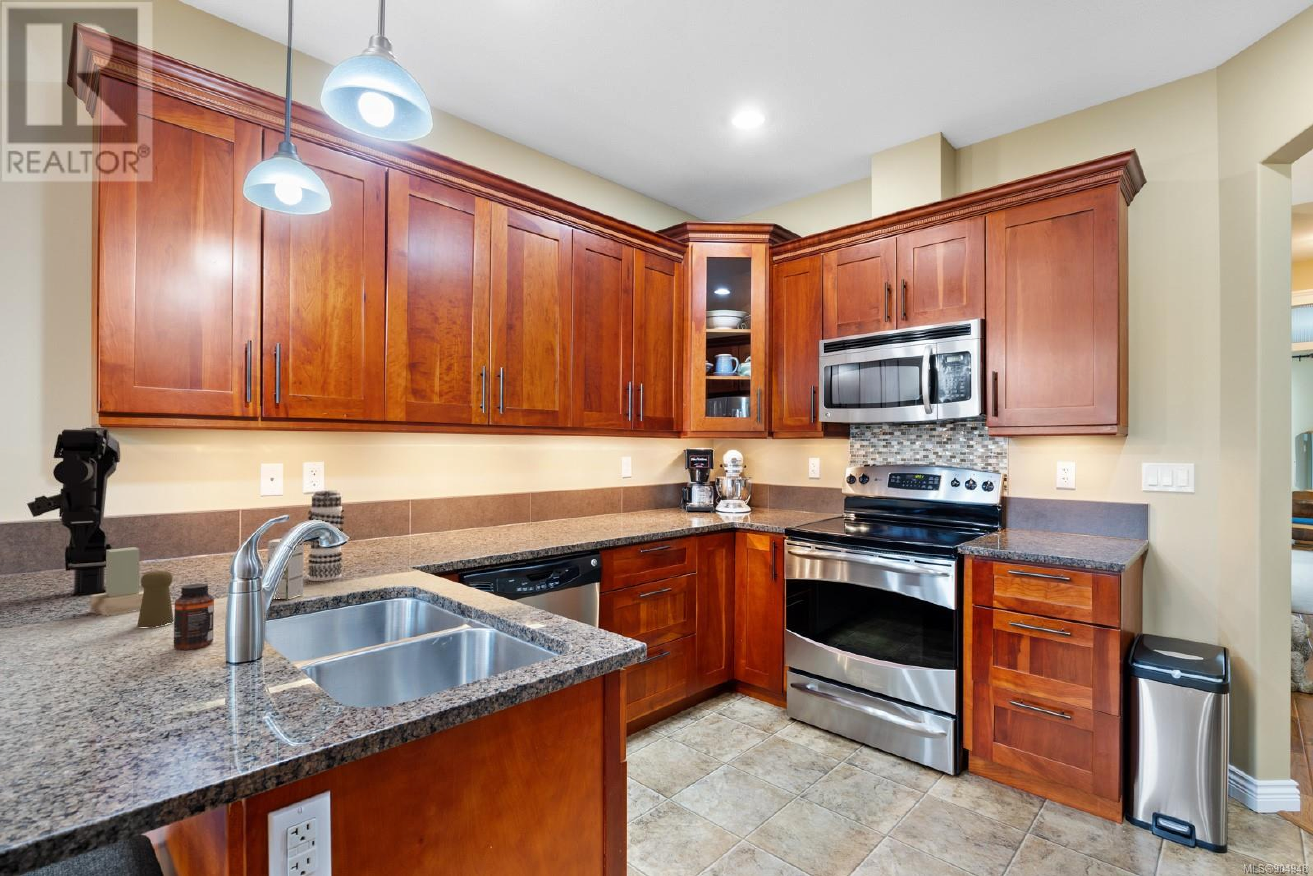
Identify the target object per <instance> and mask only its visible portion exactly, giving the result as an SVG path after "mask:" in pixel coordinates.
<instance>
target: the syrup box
mask: <svg viewBox="0 0 1313 876" xmlns="http://www.w3.org/2000/svg"><path fill="white" fill-rule="evenodd" d="M282 538H283V537H282ZM282 538H275V539H272V540H269V541H268V542H267V564H268V563H269V561H270V559H271V557H272V554H273V553H274V551H275V548H276V547H277V545H278V544H279V543H280V540H282ZM303 585H304V543H303V544H302V545H299V546H298V548H297V549H296V550H295V551H294V552H293V555H292V557H291V558H290V559H289V563H288V566H287V568H286V570H285V571H284V575H283V577H282V579H281V581H280V585H279V587H278V590H277V591H276V594H275V599H276V598H277V599H278V598H280V599H289V598H292V597H294V596H297V595H302V596H303V594H304V586H303ZM275 599H273V600H274V601H275Z"/></svg>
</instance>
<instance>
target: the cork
mask: <svg viewBox="0 0 1313 876" xmlns="http://www.w3.org/2000/svg"><path fill="white" fill-rule="evenodd" d="M173 579H174V578H173V574H172V573H171V572H170V571H167V570H156V571H151V572H147V573H144V574H143V575H142V577H141V579H140V585H141V588H143V589H144V590H143V591H144V593H143V598H142V603H141V609H140V610H139V614H138V620H137V626H136V627H156V626H161V625H165V624H167V623H172V622H173V621H174V612H173V606H172V598H171V591H170V586H171V584H172V583H173ZM172 624H173V623H172ZM156 628H157V627H156Z"/></svg>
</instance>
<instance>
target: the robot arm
mask: <svg viewBox="0 0 1313 876" xmlns="http://www.w3.org/2000/svg"><path fill="white" fill-rule="evenodd" d="M53 459H62V460H61V461H59V463H57V464H56V465H55V467H54V468H53V473H52V474H53V477H54V479H55V480H56V481H57V482H59V483H60V484H62V488H60V492H59V493H58V494H54V495H51V496H48V497H47V496H46V495H41V496H38V497H36V496H35V498H34V501H29V502H28V503H26V505H27V507H28V510H29V512H30V513H31V515H32V517H33V518H36V517H38V516H39V517H40V516H42V515H43V514H47V513H50V512H52V511H56V510H58V511H59V513H58V516H59V520H60V522H61V525H62V526H64V527H66V529H68V530H69V533H70V538H69V543H68V544H69V545H67V546H66V547H65V549H64V550H65V551H64V561H65V563H64V565H65V566H64V567H65V571H66V572H67V571H74V576H73V579H74V580H73V589H71V590H70V592H71V596H80V595H81V596H82V595H89V594H96V593H98V594H100V593H106V592H105V591H106V585H105V578H106V550H110V549H115V548H114V547H113V546H112V543H110V540H109V537H108V535H107V534H106V532H105V531H104V529H103V528H104V527H103V525H104V515H105V507H106V505H105V504H106V497H107V496H106V495H107V487H108V485H107V484H108V480H109V478H110V477H111V476H112V475H113V474H114V473H115V472H116V471H117V465H118V463H120V462H121V448H120V442H119V441H118V440H116V439H115V438H114V437H113V436H111V435H110V432H109V428H104V427H85V428H82V429H66V428H65V429H63V430H62V431H61V433H59V434H58V435H57V438H56V444H55V449H54V454H53Z"/></svg>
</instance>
